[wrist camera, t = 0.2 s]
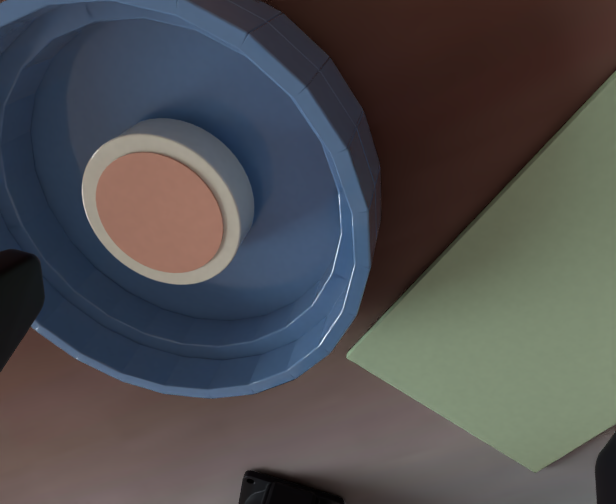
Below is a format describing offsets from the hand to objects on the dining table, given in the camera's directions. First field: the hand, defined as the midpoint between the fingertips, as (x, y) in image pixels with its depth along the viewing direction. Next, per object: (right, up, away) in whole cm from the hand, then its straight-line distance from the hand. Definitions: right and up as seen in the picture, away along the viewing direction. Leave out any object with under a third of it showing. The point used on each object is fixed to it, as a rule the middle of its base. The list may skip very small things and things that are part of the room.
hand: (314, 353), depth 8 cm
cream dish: (-6, +4, +16) cm, 17 cm away
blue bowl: (-5, +5, +16) cm, 17 cm away
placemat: (+12, 0, +15) cm, 19 cm away
